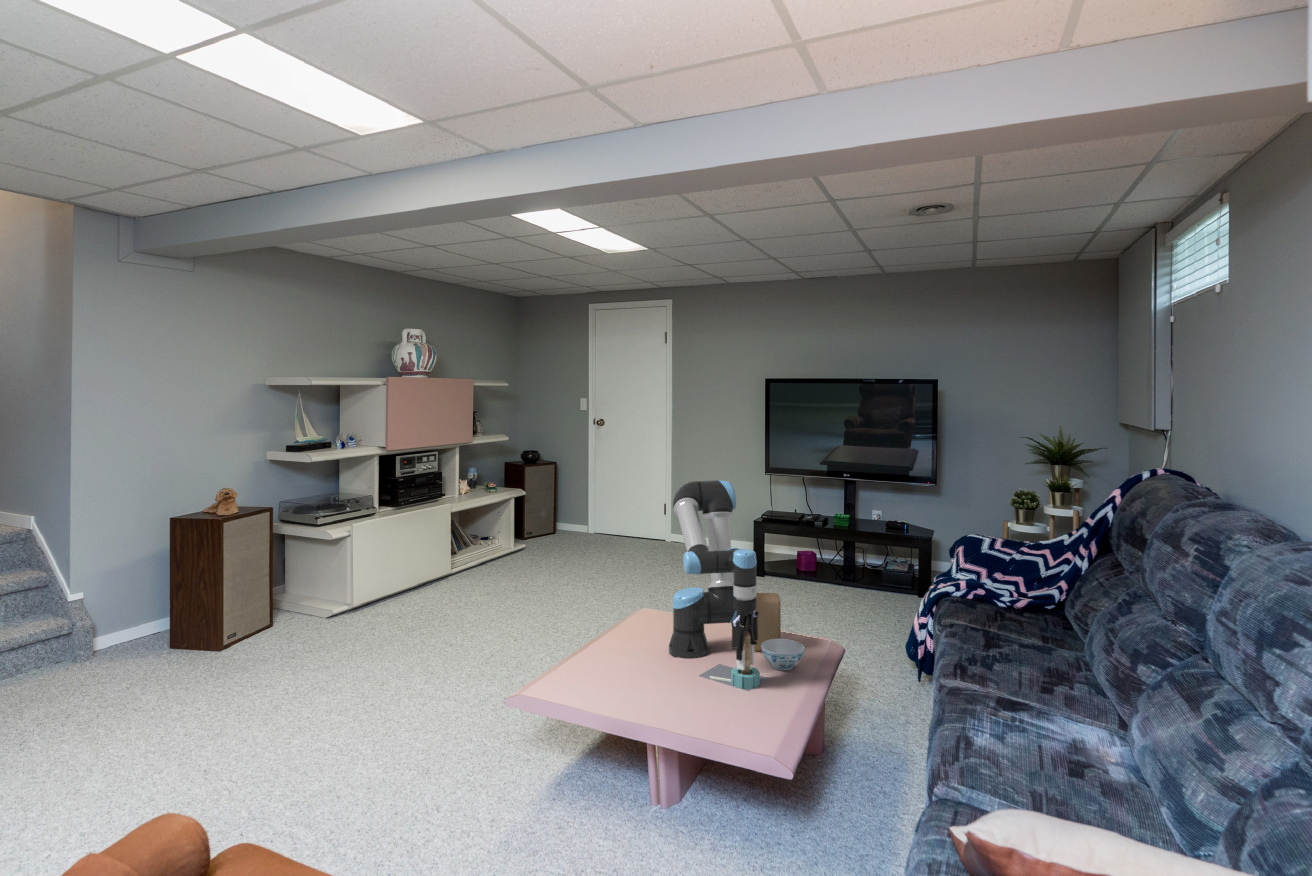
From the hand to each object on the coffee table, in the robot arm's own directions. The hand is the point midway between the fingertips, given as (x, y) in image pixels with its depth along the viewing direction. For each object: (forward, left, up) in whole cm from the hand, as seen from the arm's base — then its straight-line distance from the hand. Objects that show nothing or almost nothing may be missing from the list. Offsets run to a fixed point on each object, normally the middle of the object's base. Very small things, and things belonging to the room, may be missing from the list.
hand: (745, 665), depth 227 cm
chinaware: (+3, +20, -6) cm, 21 cm away
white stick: (-8, -3, -6) cm, 10 cm away
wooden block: (-11, +33, -6) cm, 35 cm away
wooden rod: (0, 0, -6) cm, 6 cm away
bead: (0, 0, -6) cm, 6 cm away
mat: (-6, +2, -6) cm, 9 cm away
